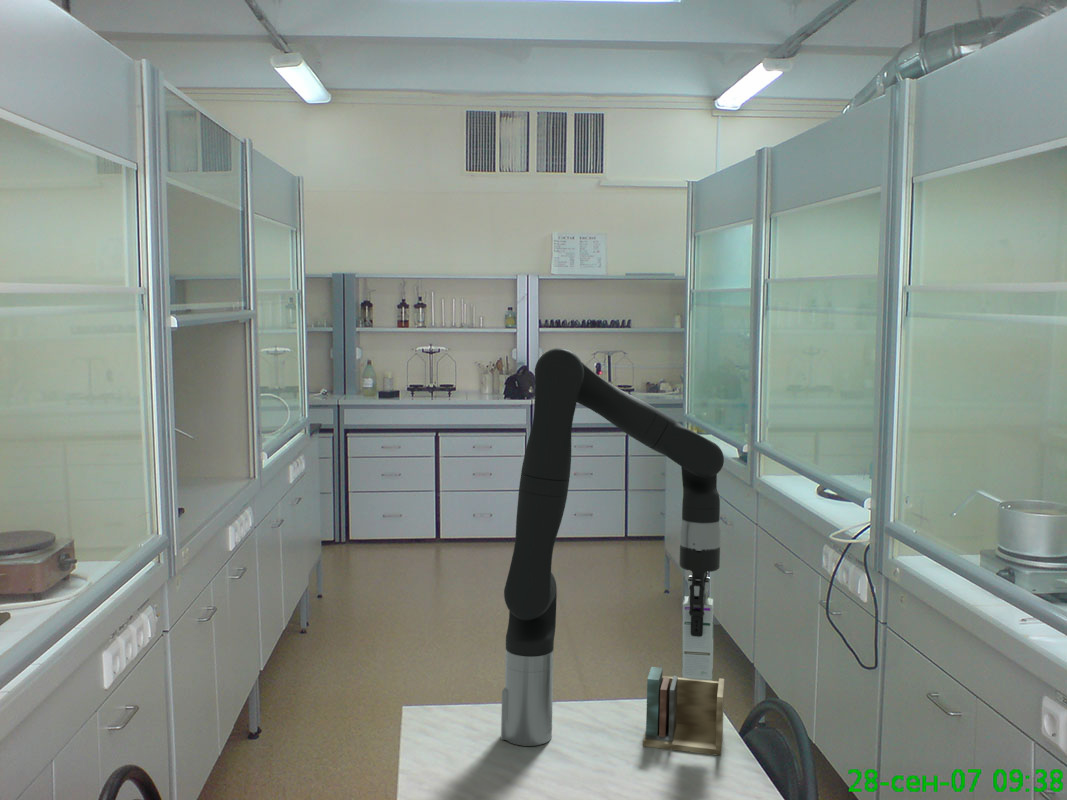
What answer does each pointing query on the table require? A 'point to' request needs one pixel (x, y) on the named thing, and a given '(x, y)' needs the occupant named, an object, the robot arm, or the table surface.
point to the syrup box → (697, 644)
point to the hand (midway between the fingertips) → (697, 630)
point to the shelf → (684, 713)
